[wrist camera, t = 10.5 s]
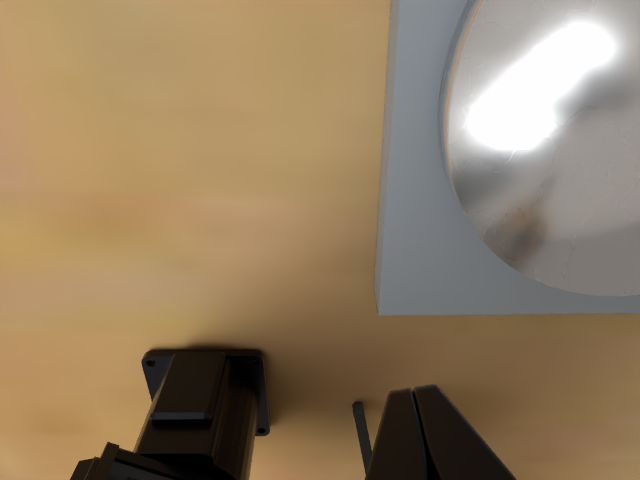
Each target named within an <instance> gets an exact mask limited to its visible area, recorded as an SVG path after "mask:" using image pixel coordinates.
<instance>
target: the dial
mask: <svg viewBox="0 0 640 480" xmlns="http://www.w3.org/2000/svg"><path fill="white" fill-rule="evenodd" d="M438 138H439V146H440V155H441V159H442V162H443V166H444V170H445V174H446V178H447V180H448V182H449V185H450V187H451V189H452V192H453V194H454V196H455V198H456V200H457V202H458V203H459V205H460V207H461V208H462V210H463V211H464V213H465V215H466V216H467V218H468V219H469V221H470V223H471V224H472V226H473V227H474V229H475V230H476V232H477V234H478V235H479V237H480V238H481V239H482V240H483V241H484V242H485V244H486V245H487V246H488V247H489V248H490V249H491V250H492V251H493V253H494V254H496V255H497V256H498V257H499V258H501V259H502V260H503V261H504V262H505V263H507V264H508V265H509V266H510V267H512V268H513V269H515V270H517V271H518V272H520V273H522V274H524V275H525V276H527V277H529V278H530V279H533V280H535V281H538V282H540V283H543V284H545V285H548V286H550V287H553V288H557V289H561V290H565V291H569V292H573V293H579V294H587V295H594V296H631V295H640V0H468V2H467V4H466V6H465V7H464V10H463V12H462V15H461V17H460V20H459V22H458V25H457V27H456V30H455V32H454V35H453V37H452V40H451V43H450V47H449V50H448V54H447V57H446V61H445V65H444V68H443V72H442V79H441V85H440V92H439V99H438Z"/></svg>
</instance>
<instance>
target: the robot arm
mask: <svg viewBox="0 0 640 480" xmlns="http://www.w3.org/2000/svg"><path fill="white" fill-rule="evenodd" d="M252 359H256V361H254V360H252ZM151 360H153V361H151ZM142 367H143V371H144V374H145V378H146V381H147V385H148V389H149V392H150V396H151V399H152V404H151V407H150V409H149V412H148V415H147V417H146V420H145V422H144V425H143V427H142V430H141V432H140V435H139V437H138V440H137V443H136V445H135V448H134V450H133V452H131V451H127V450H124V449H121V448H119V445H116V444H113V443H110V442H107V444H106V446H105V448H104V450H103V452H102V454H101V456H100V458H98V457H94V458H93V459H88V460H82V461H79V463H78V465H77V467H76V469H75V471H74V473H73V475H72V477H71V479H70V480H249V476H250V469H251V462H252V455H253V448H254V440H255V436H266V435H268V434H269V432H270V415H269V404H268V394H267V383H266V373H265V362H264V356H263V354H262V353H261V352H259V351H256V350H219V351H149V352H147V353H145V355H144V357H143V359H142ZM365 480H517V479H516V478H515V477H514V476H513V475H512V473H511V472H510V471H509V470H508V469H507V467H506V466H505V465H504V464H503V463H502V462H501V460H500V459H499V458H498V457H497V456H496V454H495V453H494V452H493V451H492V450H491V448H490V447H489V446H488V445H487V444H486V443H485V441H484V440H483V439H482V438H481V437H480V435H479V434H478V433H477V432H476V431H475V429H474V428H473V427H472V426H471V425H470V424H469V422H468V421H467V420H466V419H465V418H464V416H463V415H462V414H461V413H460V412H459V410H458V409H457V408H456V407H455V406H454V405H453V403H452V402H451V401H450V400H449V399H448V397H447V396H446V395H445V394H444V393H443V391H442V390H441V389H440V388H439V387H438V386H437V385H433V384H432V385H426V386H419V387H415V388H414V390H413V391H412V390H411V389H409V388H406V389H400V390H393V391H390V392H389V394H388V396H387V399H386V403H385V407H384V411H383V414H382V418H381V422H380V425H379V429H378V433H377V437H376V440H375V444H374V448H373V451H372V455H371V459H370V463H369V466H368V470H367V474H366V477H365Z"/></svg>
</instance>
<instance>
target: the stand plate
mask: <svg viewBox="0 0 640 480" xmlns="http://www.w3.org/2000/svg"><path fill="white" fill-rule="evenodd" d="M467 2H468V0H391V11H390V28H389V45H388V61H387V78H386V95H385V111H384V128H383V145H382V162H381V178H380V195H379V212H378V228H377V245H376V262H375V278H374V294H375V300H376V305H377V311H378V316H401V315H516V314H632V313H640V295H631V296H594V295H587V294H579V293H573V292H569V291H565V290H561V289H557V288H553V287H550V286H548V285H545V284H543V283H540V282H538V281H535V280H533V279H530V278H529V277H527V276H525V275H524V274H522V273H520V272H518V271H517V270H515V269H513V268H512V267H510V266H509V265H508V264H507V263H505V262H504V261H503V260H502V259H501V258H499V257H498V256H497V255H496V254H494V253H493V251H492V250H491V249H490V248H489V247H488V246H487V245H486V244H485V242H484V241H483V240H482V239H481V238H480V237H479V235H478V234H477V232H476V230H475V229H474V227H473V226H472V224H471V223H470V221H469V219H468V218H467V216H466V215H465V213H464V211H463V210H462V208H461V207H460V205H459V203H458V202H457V200H456V198H455V196H454V194H453V192H452V189H451V187H450V185H449V182H448V180H447V178H446V174H445V170H444V166H443V162H442V159H441V155H440V146H439V138H438V99H439V92H440V85H441V79H442V72H443V68H444V65H445V61H446V57H447V54H448V50H449V47H450V43H451V40H452V37H453V35H454V32H455V30H456V27H457V25H458V22H459V20H460V17H461V15H462V12H463V10H464V7H465V6H466V4H467Z"/></svg>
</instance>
